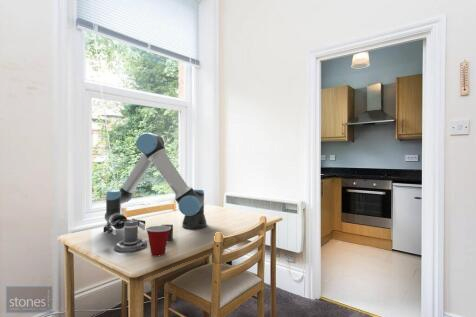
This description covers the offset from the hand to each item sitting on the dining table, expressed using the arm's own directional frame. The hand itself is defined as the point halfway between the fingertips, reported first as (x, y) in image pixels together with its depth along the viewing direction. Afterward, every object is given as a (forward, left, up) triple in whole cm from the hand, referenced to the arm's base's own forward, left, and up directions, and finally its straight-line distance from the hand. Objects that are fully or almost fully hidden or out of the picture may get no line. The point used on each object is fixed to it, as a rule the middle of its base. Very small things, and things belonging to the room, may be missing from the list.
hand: (130, 229), depth 126 cm
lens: (-1, 0, -7) cm, 7 cm away
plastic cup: (-17, +8, -8) cm, 20 cm away
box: (-15, -11, -8) cm, 20 cm away
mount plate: (-1, 0, -8) cm, 8 cm away
